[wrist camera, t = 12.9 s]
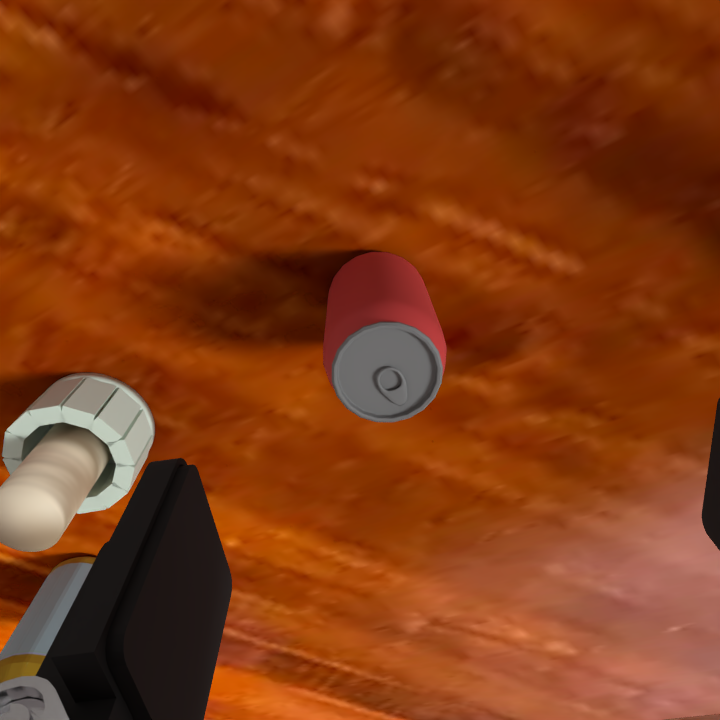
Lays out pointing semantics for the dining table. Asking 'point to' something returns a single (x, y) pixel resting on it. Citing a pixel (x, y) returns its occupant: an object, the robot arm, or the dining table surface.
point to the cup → (98, 414)
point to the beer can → (382, 339)
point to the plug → (50, 487)
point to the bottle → (43, 619)
